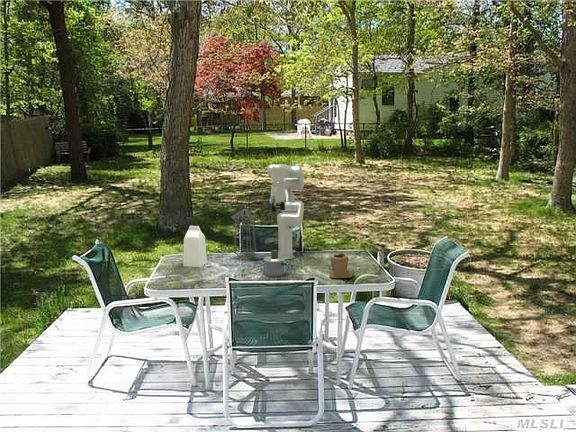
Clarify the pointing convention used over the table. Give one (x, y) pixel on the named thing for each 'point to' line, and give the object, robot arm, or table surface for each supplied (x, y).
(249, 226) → the geometric lantern
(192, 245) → the milk
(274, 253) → the lid
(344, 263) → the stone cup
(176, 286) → the table surface
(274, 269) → the pot
